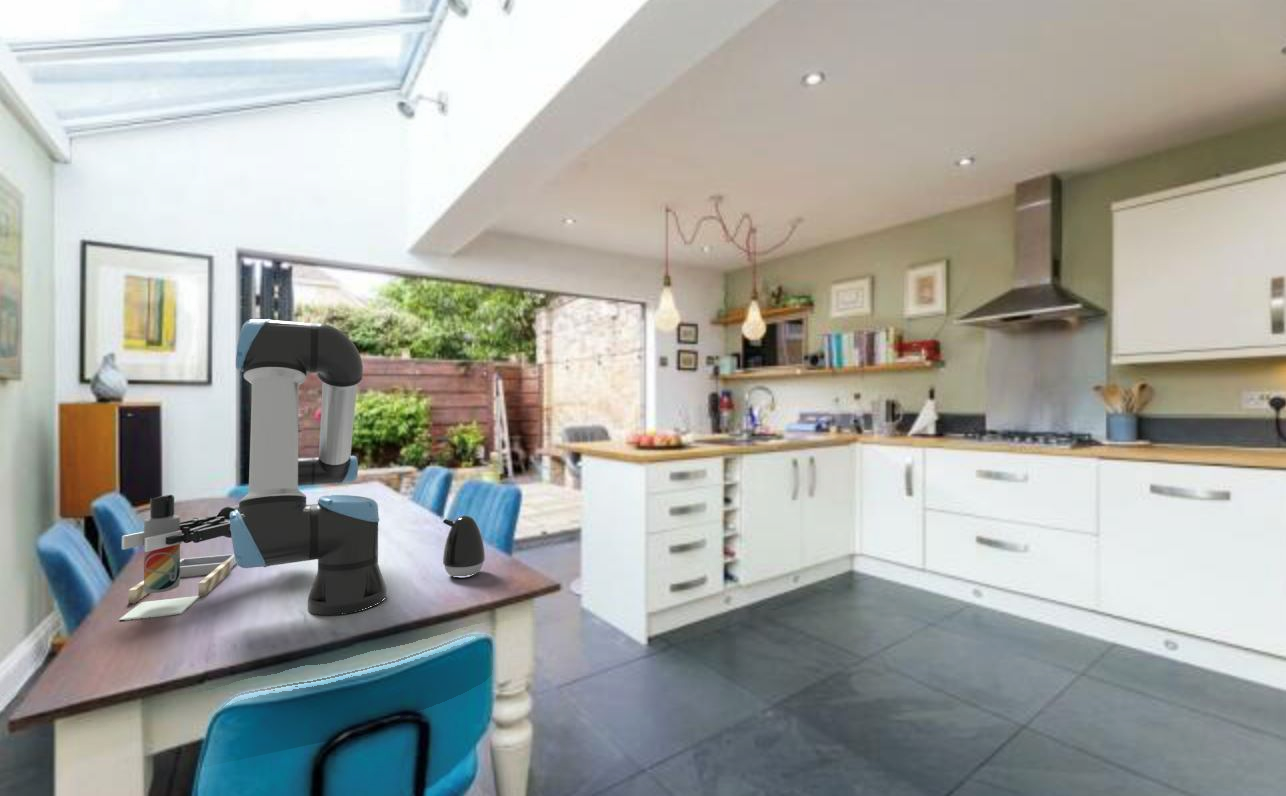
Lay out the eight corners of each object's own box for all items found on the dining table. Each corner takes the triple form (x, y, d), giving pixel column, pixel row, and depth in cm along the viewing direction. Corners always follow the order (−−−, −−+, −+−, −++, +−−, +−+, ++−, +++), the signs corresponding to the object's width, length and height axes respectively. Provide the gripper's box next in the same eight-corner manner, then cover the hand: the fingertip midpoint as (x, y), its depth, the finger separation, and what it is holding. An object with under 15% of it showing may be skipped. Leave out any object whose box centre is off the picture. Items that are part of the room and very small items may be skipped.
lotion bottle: (163, 593, 111) (163, 497, 111) (136, 593, 111) (136, 497, 111) (186, 584, 117) (187, 492, 117) (161, 584, 117) (161, 492, 117)
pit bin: (226, 572, 138) (226, 562, 138) (167, 578, 133) (167, 568, 133) (237, 563, 146) (237, 553, 146) (182, 568, 141) (182, 558, 141)
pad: (181, 613, 111) (181, 611, 111) (118, 621, 107) (118, 619, 107) (199, 597, 120) (199, 595, 120) (142, 603, 116) (142, 602, 116)
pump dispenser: (448, 569, 141) (448, 511, 141) (488, 568, 142) (488, 511, 142) (436, 582, 131) (437, 520, 131) (480, 581, 132) (480, 519, 132)
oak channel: (205, 595, 121) (205, 582, 121) (128, 604, 116) (128, 590, 116) (230, 572, 138) (230, 560, 138) (163, 578, 133) (164, 566, 133)
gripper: (273, 536, 129) (169, 565, 107) (212, 531, 133) (100, 558, 111) (274, 505, 129) (170, 528, 107) (213, 501, 133) (100, 522, 111)
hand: (134, 543), depth 109 cm, fingers closed on lotion bottle, 5 cm apart
